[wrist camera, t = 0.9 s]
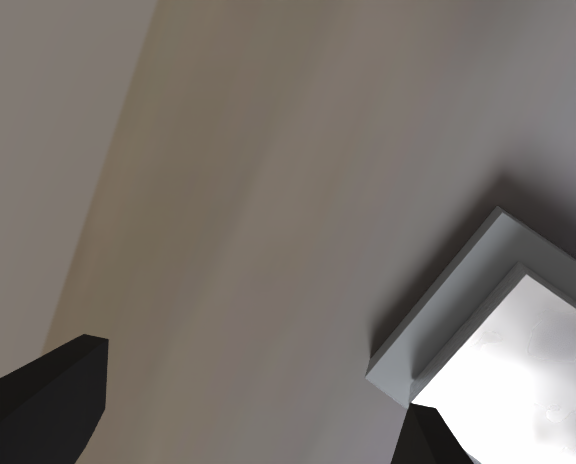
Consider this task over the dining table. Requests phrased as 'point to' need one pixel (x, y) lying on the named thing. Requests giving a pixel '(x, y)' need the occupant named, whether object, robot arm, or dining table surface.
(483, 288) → the grey flat frame
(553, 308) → the sliding cover
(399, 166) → the dining table surface
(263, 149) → the dining table surface
